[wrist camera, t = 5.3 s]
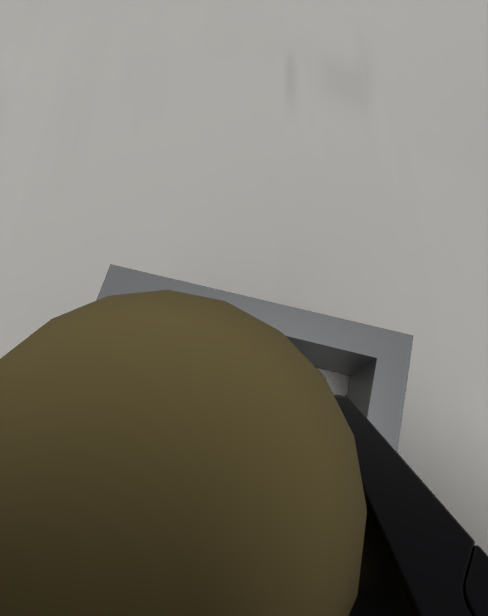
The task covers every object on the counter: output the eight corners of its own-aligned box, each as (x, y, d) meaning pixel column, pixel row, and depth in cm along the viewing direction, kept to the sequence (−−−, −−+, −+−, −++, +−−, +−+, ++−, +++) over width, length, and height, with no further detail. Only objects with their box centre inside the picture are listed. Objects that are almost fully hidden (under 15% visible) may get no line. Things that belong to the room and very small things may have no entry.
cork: (154, 576, 13) (-291, 1165, 2) (124, 393, 15) (-203, 290, 4) (332, 525, 13) (608, 864, 3) (281, 351, 15) (329, 158, 5)
